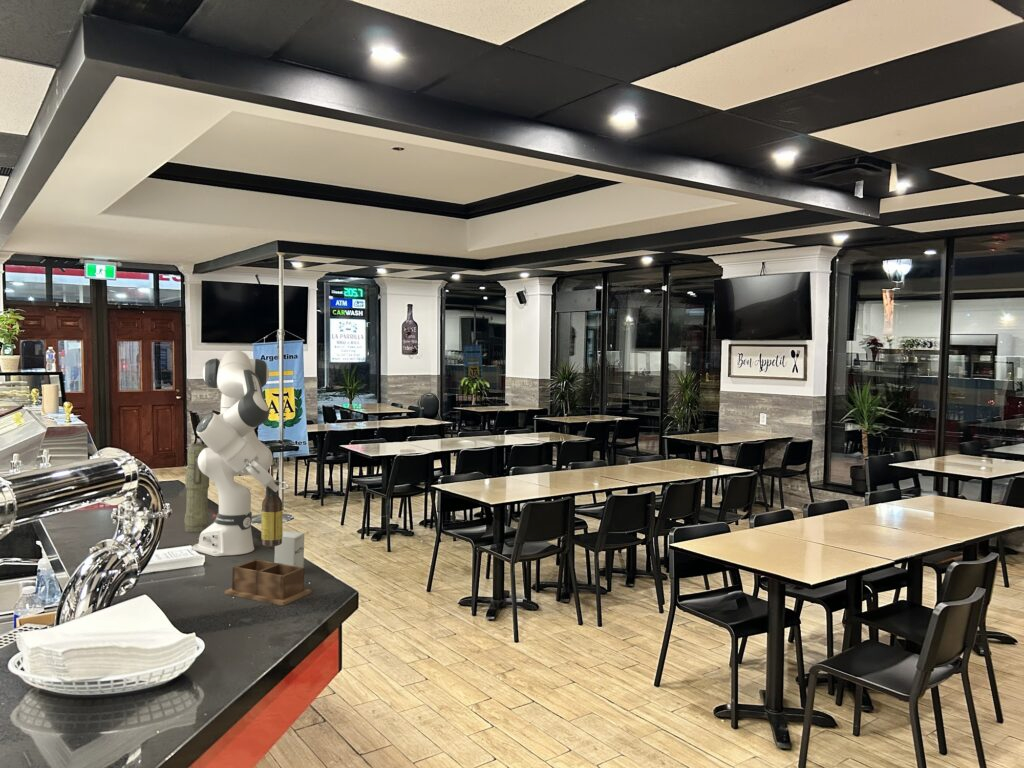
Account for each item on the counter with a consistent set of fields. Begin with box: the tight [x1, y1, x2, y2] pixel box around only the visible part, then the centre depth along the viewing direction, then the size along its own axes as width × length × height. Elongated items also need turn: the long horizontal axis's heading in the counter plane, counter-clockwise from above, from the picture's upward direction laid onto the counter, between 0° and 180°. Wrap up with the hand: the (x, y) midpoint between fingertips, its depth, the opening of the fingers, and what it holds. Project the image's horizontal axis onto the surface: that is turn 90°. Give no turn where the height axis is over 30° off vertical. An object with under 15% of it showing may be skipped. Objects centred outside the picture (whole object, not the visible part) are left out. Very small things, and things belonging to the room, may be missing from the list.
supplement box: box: [273, 531, 305, 568], centre depth 248 cm, size 7×7×13 cm
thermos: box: [183, 442, 210, 534], centre depth 295 cm, size 9×12×35 cm
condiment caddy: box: [224, 558, 312, 607], centre depth 226 cm, size 22×13×8 cm, turn 68°
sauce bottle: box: [260, 479, 284, 548], centre depth 227 cm, size 6×6×20 cm
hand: (275, 488), depth 227 cm, fingers closed on sauce bottle, 4 cm apart
